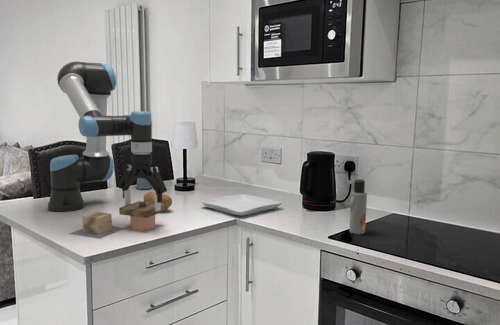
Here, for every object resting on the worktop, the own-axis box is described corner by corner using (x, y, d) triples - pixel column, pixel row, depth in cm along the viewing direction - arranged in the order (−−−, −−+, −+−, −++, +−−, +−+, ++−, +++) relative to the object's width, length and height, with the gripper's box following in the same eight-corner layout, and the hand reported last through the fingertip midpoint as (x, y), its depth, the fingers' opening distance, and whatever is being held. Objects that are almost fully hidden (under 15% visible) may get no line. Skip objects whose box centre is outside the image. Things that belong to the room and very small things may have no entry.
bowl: (125, 229, 159) (125, 214, 158) (140, 223, 167) (140, 208, 166) (146, 232, 156) (145, 216, 155) (159, 226, 164) (159, 211, 163)
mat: (68, 234, 152) (68, 233, 152) (96, 224, 165) (96, 223, 165) (99, 239, 147) (99, 238, 147) (125, 229, 159) (125, 228, 159)
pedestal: (83, 232, 154) (82, 216, 153) (96, 227, 160) (96, 211, 159) (98, 234, 151) (98, 218, 150) (111, 229, 157) (111, 213, 157)
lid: (119, 214, 157) (119, 203, 157) (139, 207, 168) (139, 197, 168) (146, 218, 153) (146, 207, 152) (165, 210, 164) (164, 200, 163)
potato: (163, 215, 180) (163, 196, 179) (138, 210, 187) (138, 193, 186) (177, 210, 189) (177, 192, 188) (153, 206, 196) (153, 189, 195)
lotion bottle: (367, 232, 159) (370, 179, 157) (360, 235, 155) (363, 181, 153) (353, 229, 163) (356, 178, 161) (346, 232, 159) (348, 179, 156)
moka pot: (146, 185, 246) (146, 151, 243) (159, 189, 234) (158, 153, 231) (131, 187, 240) (130, 152, 237) (143, 191, 228) (142, 154, 225)
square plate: (283, 209, 194) (283, 201, 193) (240, 220, 175) (240, 211, 174) (242, 200, 213) (242, 192, 212) (199, 208, 194) (199, 200, 193)
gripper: (107, 152, 159) (109, 207, 162) (164, 156, 149) (165, 214, 153) (120, 150, 166) (122, 203, 169) (175, 154, 156) (176, 210, 159)
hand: (142, 208), depth 161 cm, fingers open, 13 cm apart
